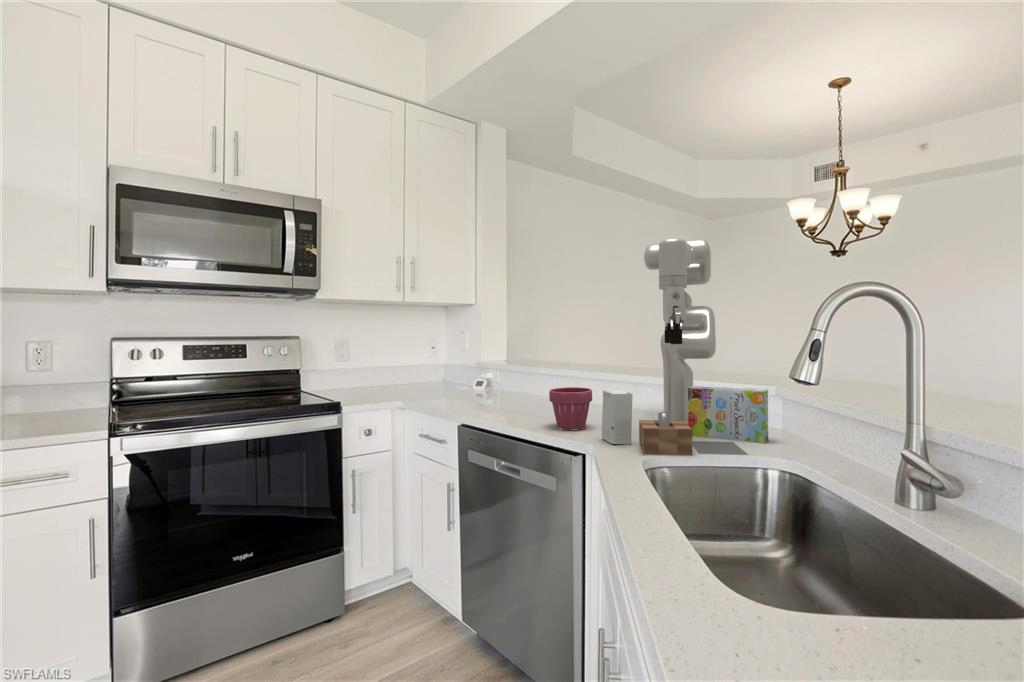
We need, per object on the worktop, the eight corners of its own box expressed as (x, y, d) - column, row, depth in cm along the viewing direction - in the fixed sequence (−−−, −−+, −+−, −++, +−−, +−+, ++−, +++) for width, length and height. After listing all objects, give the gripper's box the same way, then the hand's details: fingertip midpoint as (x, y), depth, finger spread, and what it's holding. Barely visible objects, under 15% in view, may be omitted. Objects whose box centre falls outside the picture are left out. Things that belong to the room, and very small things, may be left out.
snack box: (768, 441, 141) (768, 388, 141) (766, 445, 136) (765, 391, 136) (692, 433, 153) (691, 384, 152) (687, 436, 148) (687, 386, 148)
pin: (669, 449, 133) (668, 412, 133) (670, 451, 130) (670, 414, 130) (657, 448, 134) (657, 412, 134) (659, 451, 131) (658, 414, 131)
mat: (688, 442, 141) (688, 441, 141) (732, 443, 139) (732, 441, 139) (698, 455, 127) (698, 453, 127) (748, 456, 125) (748, 454, 125)
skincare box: (601, 439, 146) (600, 389, 146) (620, 438, 148) (619, 388, 147) (613, 445, 138) (613, 393, 138) (633, 444, 139) (633, 392, 139)
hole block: (639, 444, 139) (639, 419, 139) (683, 445, 137) (683, 420, 137) (643, 455, 127) (643, 428, 127) (692, 456, 125) (692, 429, 125)
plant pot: (541, 426, 166) (540, 389, 165) (573, 422, 174) (572, 385, 173) (568, 434, 154) (568, 393, 154) (601, 428, 162) (601, 389, 161)
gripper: (692, 280, 131) (693, 344, 131) (680, 285, 148) (681, 342, 148) (663, 281, 132) (663, 344, 132) (655, 286, 149) (655, 342, 150)
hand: (673, 343), depth 140 cm, fingers open, 9 cm apart
